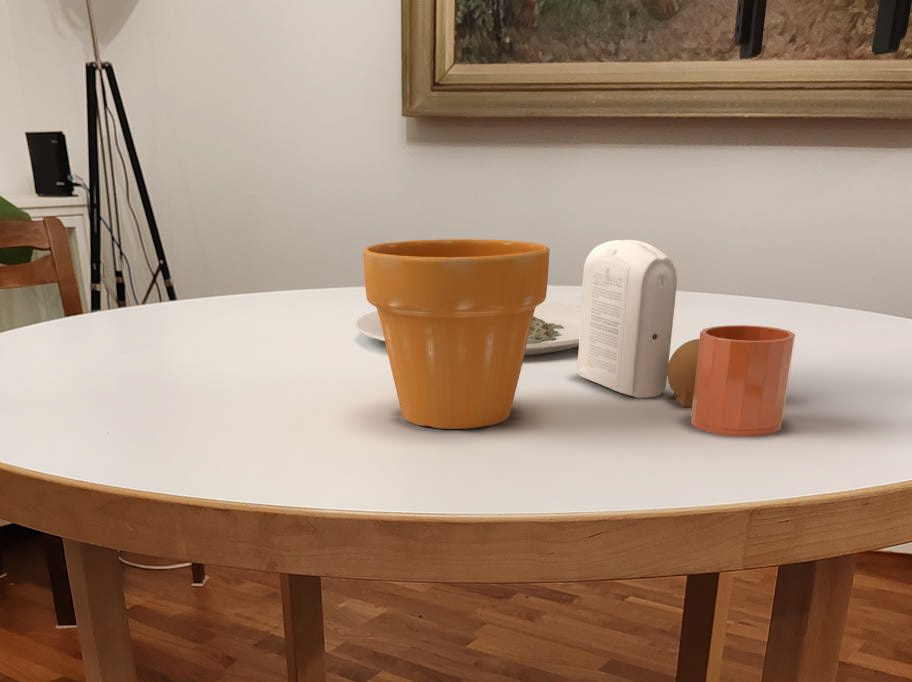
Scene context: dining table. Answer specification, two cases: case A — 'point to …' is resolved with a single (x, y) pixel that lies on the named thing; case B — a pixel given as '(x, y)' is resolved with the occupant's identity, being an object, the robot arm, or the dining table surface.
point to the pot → (742, 379)
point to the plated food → (548, 331)
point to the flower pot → (456, 323)
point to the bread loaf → (683, 372)
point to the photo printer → (627, 317)
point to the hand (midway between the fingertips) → (816, 55)
